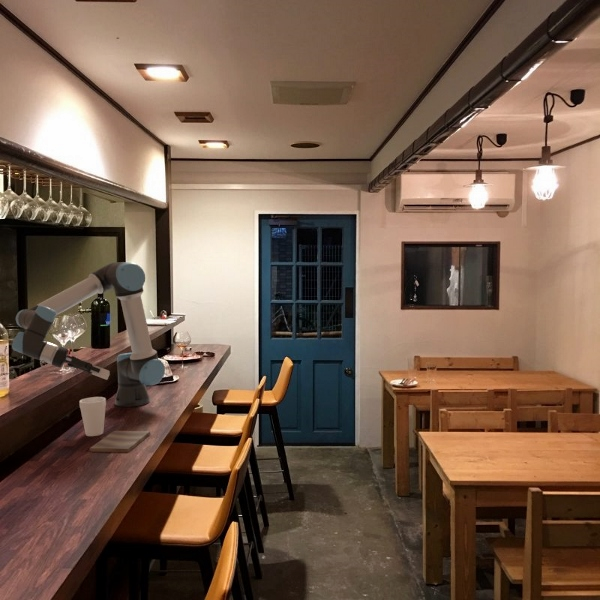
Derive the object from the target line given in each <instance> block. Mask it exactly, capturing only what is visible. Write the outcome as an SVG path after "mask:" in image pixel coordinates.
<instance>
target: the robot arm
mask: <svg viewBox="0 0 600 600" xmlns="http://www.w3.org/2000/svg"><path fill="white" fill-rule="evenodd" d="M145 283H146V273H145V271H144V270H143V268H142V267H141V266H140V265H139V264H137V263H135V262H131V261H125V262H124V261H123V262H117V261H116V262H115V261H114V262H111V263H108V264H106V265H104V266H102V267H100V268H98V269H97V270H95V271H93V272H91V273H90V274H88V277H87V278H85V279H83V280H81V281H79V282H78V283H75V284H73V285H72V286H69V287H68V288H66V289H64V290H63V291H60V292H58V293H56V294H55V295H53V296H51V297H50V298H47V299H45V300H43V301H41V302H39V303H37V304H35V305H34V306H32V307H30V308H28V309H27V308H25V309H21V310H19V311H18V312H17V314H16V316H15V321H16V325H17V326H19V327H20V328H22V329H25V331H19V332H17V334H16V336H15V337H14V339H13V341H12V344H11V348H12V350H13V351H14V352H15V351H16V352H17V353H20V354H22V355H25V356H27V357H30V358H33V359H35V360H39V361H41V363H42V364H45V363H47V364H51V365H52V366H54V367H56V368H58V369H59V368H62V367H63V366H64V364H66V365H67V367H70V368H74V369H76V370H81V371H83V372H86V373H88V374H90V375H93V376H96V377H99V378H101V379H104V380H106V381H107V380H108V379H109V376H110V375H111V373H110V370H108V369H105V368H103V367H100V366H99V365H98V366H97V365H96V364H92V363H91V362H88V361H85V360H81V359H79V358H78V357H76V356H73V355H72V356H71V355H69V352H70V350H69V349H68V348H65V347H62V346H59V345H58V344H56V343H52V342H50V341H47V340H46V338H47V336H48V334H49V332H50V329H51V327H52V326H53V323H54V322H55V319H56V316H58V315H59V314H62V313H63V312H65V311H67V310H69V309H71V308H73V307H74V306H77V305H78V304H80V303H82V302H84V301H86V300H88V299H89V298H91V297H93V296H95V295H96V294H101V295H102V294H103V293H105V292H108V291H111V290H114V294H115V298H117V299H118V300H120V304H121V307H122V308H121V309H122V312H123V318H124V323H125V326H126V331H127V334H128V335H127V336H128V340H129V344H130V349H131V352H126V353H121V354H118V355H117V356H116V357H117V358H116V367H117V383H118V384H117V387H118V388H117V391H116V396H115V398H114V403H115V406H118V407H122V408H123V407H124V408H127V407H128V408H129V407H130V408H131V407H137V406H143V405H146V404H149V403H150V401H151V400H150V399H151V398H150V394H149V392H148V389H147V386H156V385H157V384H159V383H160V382H161V381H162V379H163V377H164V376H165V372H166V366H165V364H164V362H163V361H162V360H160V359H159V356H158V351H157V350H155V349H154V348H153V346H152V345H153V344H152V340H151V337H150V332H149V328H148V327H149V326H148V323H147V318H146V314H145V309H144V305H143V298H142V295H143V293H144V288H143V286H144V285H145Z"/></svg>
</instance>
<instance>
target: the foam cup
mask: <svg viewBox="0 0 600 600" xmlns="http://www.w3.org/2000/svg"><path fill="white" fill-rule="evenodd" d="M106 406H107V398H106V397H103V396H93V397H85V398H82V399H80V400H79V408H80V412H81V417H82V422H83V427H84V432H85V436H87V437H94V436H95V437H98V436H102V434H104V430H105V429H104V427H105V416H106Z"/></svg>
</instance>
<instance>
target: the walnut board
mask: <svg viewBox="0 0 600 600" xmlns="http://www.w3.org/2000/svg"><path fill="white" fill-rule="evenodd" d="M149 434H150V435H151V431H149V430H146V431H145V430H114V431H112V432H111V433H109V434H108V435H107V436H105V437H103V438H102V439H101V440H99V441H98V442H96V443H95V444H94V445H91V447H89V452H92V453H93V452H94V453H95V452H102V453H106V452H107V453H108V452H109V453H130V452H131V451H132V450H133V449H135V448H136V447H137V446H138V445H140V443H142V442H143V441H144V440H145V439H146V438H148V437H149V436H150V435H149ZM148 435H149V436H148ZM147 436H148V437H147Z"/></svg>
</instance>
